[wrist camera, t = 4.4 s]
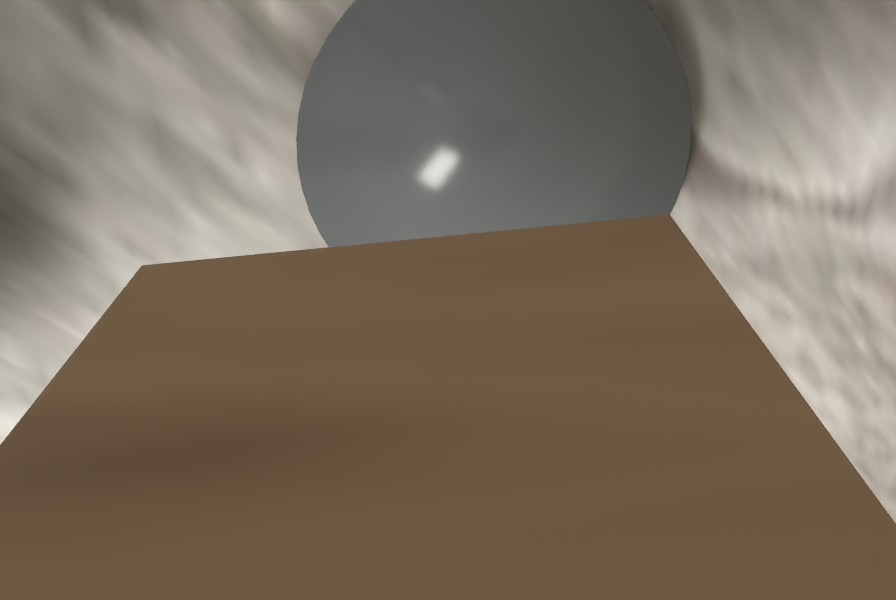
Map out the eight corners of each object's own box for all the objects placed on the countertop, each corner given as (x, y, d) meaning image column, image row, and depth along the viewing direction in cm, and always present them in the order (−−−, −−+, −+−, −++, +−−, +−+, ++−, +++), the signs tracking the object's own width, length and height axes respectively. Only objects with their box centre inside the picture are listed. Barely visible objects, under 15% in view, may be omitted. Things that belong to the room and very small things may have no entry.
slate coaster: (575, 357, 22) (579, 368, 21) (255, 252, 20) (251, 261, 19) (759, 40, 18) (770, 45, 17) (375, -140, 15) (373, -141, 15)
